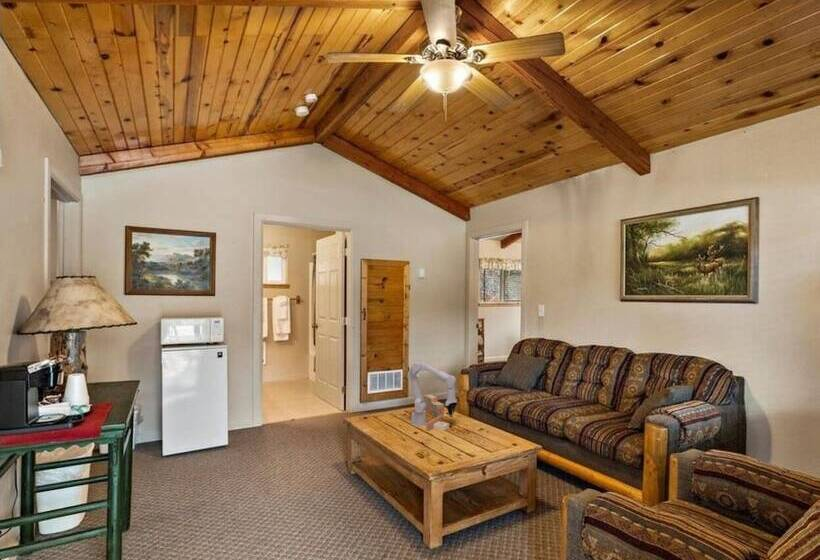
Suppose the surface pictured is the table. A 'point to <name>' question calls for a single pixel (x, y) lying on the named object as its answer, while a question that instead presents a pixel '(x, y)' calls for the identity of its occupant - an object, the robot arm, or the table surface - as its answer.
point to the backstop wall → (433, 422)
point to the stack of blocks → (433, 405)
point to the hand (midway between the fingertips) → (451, 414)
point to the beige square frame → (441, 425)
